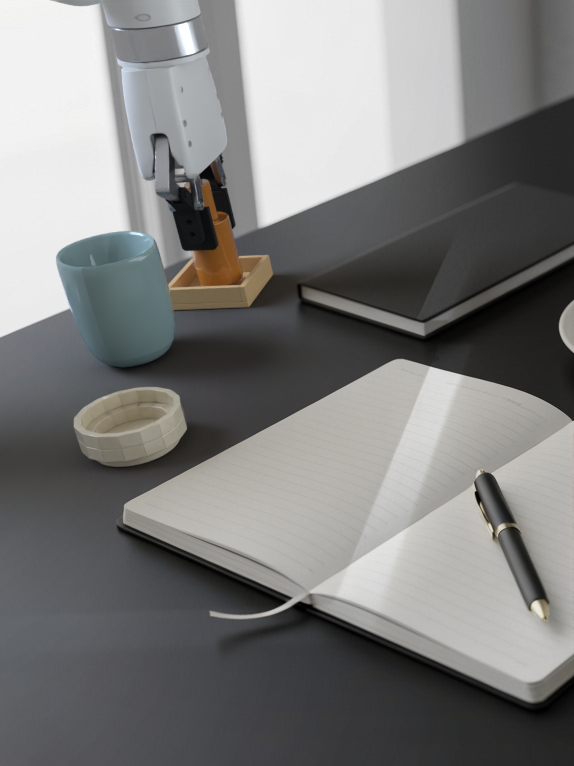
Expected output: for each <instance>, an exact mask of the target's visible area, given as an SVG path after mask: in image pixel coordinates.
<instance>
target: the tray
mask: <svg viewBox="0 0 574 766" xmlns="http://www.w3.org/2000/svg"><path fill="white" fill-rule="evenodd" d="M239 258H240V262H241V266H242V270H243V277H242V278H241V279H240V280H238V281H236V282H234V283H232V284H229V285H225V286H202V285H201V284H200V283H199V280H198V276H197V272H196V269H195V265H194V261H193V258H190V260H189V261H188V262H187V263H186V264H185V265H184V266H183V267H182V269H180V270H179V272H178V273H177V274H176V275H175V276H174V277H173V278H172V280H171V281H170V282H168V286H169V290H170V295H171V299H172V304H173V310H174V311H186V310H189V311H190V310H191V311H192V310H213V309H237V308H238V309H240V308H250V307H251V305H252V304H253V302H254V301H255V300H256V299H257V297H258V296H259V295H260V293H261V292H262V290H263V289H264V288H265V286H266V285H267V284H268V282H269V281H270V280H271V279H272V277H273V276H274V272H273V267H272V263H271V259H270V255H269V254H256V255H254V254H253V255H239Z"/></svg>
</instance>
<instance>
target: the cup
mask: <svg viewBox="0 0 574 766" xmlns="http://www.w3.org/2000/svg"><path fill="white" fill-rule="evenodd" d="M157 243H158V242H157V241H156V239H155V238H154V237H153V236H152V235H150V234H149V233H145V232H142V231H138V230H121V231H119V230H118V231H113V232H105V233H101V234H97V235H92V236H88V237H85V238H82V239H79V240H76V241H74V242H71V243H69V244H66V246H64V247H62V248H61V249H60V250H59V251H58V252H57V253H56V255H55V264H56V268H57V271H58V277H59V279H60V281H61V286H62V288H63V292H64V295H65V297H66V301H67V304H68V308H69V310H70V312H71V315H72V318H73V320H74V323H75V325H76V328H77V330H78V333H79V335H80V337H81V338H82V341H83V342H84V344H85V346H86V347H87V349H88V351H89V352H90V353H91V354H92V356H94V357H95V358H96V359H97V360H99V362H101V363H103V364H105V365H107V366H111V367H115V368H132V367H133V368H134V367H138V366H142V365H146V364H148V363H151V362H153V361H155V360H157V359H160V358H161V357H163V356H164V355H165V354H166V353H167V352H169V350H170V348H171V347H172V345H173V343H174V339H175V334H176V318H175V310H173V304H172V299H171V295H170V290H169V286H168V284H169V282H168V279H167V274H166V271H165V267H164V263H163V260H162V256H161V252H160V249H159V246H158V244H157Z"/></svg>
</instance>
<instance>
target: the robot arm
mask: <svg viewBox="0 0 574 766" xmlns="http://www.w3.org/2000/svg"><path fill="white" fill-rule="evenodd" d="M50 1H51V2H55V3H58V4H64V5H68V6H73V7H89V6H94V5H99V4H101V6H102V10H103V13H104V17H105V20H106V23H107V27H108V31H109V35H110V39H111V42H112V43H111V44H112V47H113V51H114V54H115V57H116V61H117V65H118V66H119V67H121V70H120V72H121V85H122V94H123V102H124V108H125V113H126V118H127V124H128V128H129V129H128V130H129V133H130V138H131V143H132V147H133V152H134V156H135V160H136V164H137V167H138V171H139V175H140V176H141V178H142V179H144V180H145V181H146V182H147V181H148V182H149V181H154V190H155V194H156V195H157V196H158V197H160V198H162V199H164V200H165V202H167V205H168V206H167V207H168V209H169V211H170V212H171V213H172V217H173V220H174V224H175V228H176V231H177V236H178V238H179V242H180V246H181V249H182V250H183V251H184V252H191V251H199V250H215V249H216V248H217V247H218V240H217V236H216V232H215V228H214V224H213V220H212V216H211V212H210V208H209V206H204V200H203V194H202V188H201V182H200V179H207V180H209V183H210V187H211V190H212V194H213V198H214V202H215V206H216V210H217V211H218V212H225V213H227V214H228V216H229V219H230V223H231V227H232V230H234V229H235V227H236V221H235V215H234V211H233V208H232V204H231V198H230V195H229V189H228V187H227V183H228V181H227V179H228V178H227V175H226V172H225V170H224V167H223V163H224V160H223V159H224V157H223V152H224V151H225V150H226V148H227V145H228V134H227V133H228V132H227V127H226V123H225V118H224V114H223V109H222V106H221V102H220V99H219V95H218V91H217V87H216V84H215V81H214V78H213V74H212V72H211V68H210V65H209V62H208V59H207V56H208V55H209V54H210V53H211V51H210V46H209V42H208V38H207V33H206V29H205V25H204V21H203V16H202V12H201V8H200V3H199V0H50ZM182 169H183V170H184V172H183V173H181V174H180V173H179V174H176V170H182ZM187 182H189V184H190V190H191V193H190V191H189V190H188V189H187V188H185V187H184V186H180V185H179V184H181V183H183V184H185V183H187Z"/></svg>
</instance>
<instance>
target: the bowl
mask: <svg viewBox="0 0 574 766" xmlns="http://www.w3.org/2000/svg"><path fill="white" fill-rule="evenodd" d="M184 410H185V409H184V407H183V404H182V400H181V396H180V395H179V394H177V393H176V392H175V391H174V390H173V389H170V388H164V387H160V386H141V387H139V386H138V387H132V388H128V389H123V390H118V391H115V392H112V393H109V394H107V395H104V396H101V397H98V398H97V399H95V400H93V401H92V402H90V403H88V404H87V405H85V406H83V407H82V408H81V409H80V410H79V412H78V413H77V414H76V415H75V416H74V417H73V430H74V432H75V436H76V438H77V442H78V445H79V448H80V451H81V453H82V454H83V455H85V456H86V457H87V458H88V459H90V460H93V461H96V462H98V463H99V464H101V465H103V466H106V467H115V468H123V467H124V468H125V467H132V466H138V465H142V464H146V463H149V462H152V461H155V460H156V459H159V458H161V457H163V456H165V455H166V454H168V453H170V452H171V451H172V450H174V449H175V448H176V446H177V445H178V444H179V442H180V440H181V438H182V437H183V436H184V434H185V433H186V431H187V430H188V423H187V418H186V413H185V411H184Z"/></svg>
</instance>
